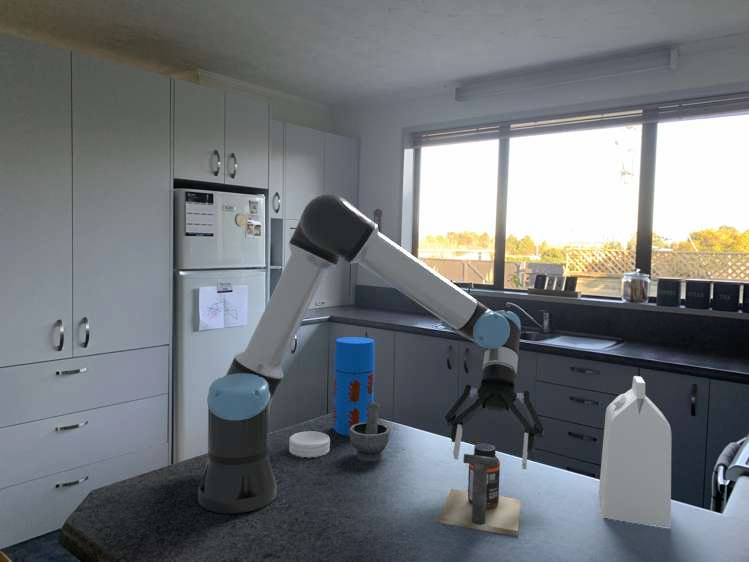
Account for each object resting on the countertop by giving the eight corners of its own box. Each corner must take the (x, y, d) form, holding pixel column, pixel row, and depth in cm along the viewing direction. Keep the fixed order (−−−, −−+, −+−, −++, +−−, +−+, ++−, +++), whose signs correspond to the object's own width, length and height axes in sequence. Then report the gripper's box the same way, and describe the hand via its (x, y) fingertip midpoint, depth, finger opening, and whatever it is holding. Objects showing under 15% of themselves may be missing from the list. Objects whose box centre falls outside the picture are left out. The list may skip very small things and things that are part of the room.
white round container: (280, 451, 134) (280, 437, 134) (309, 441, 142) (309, 427, 142) (310, 462, 128) (310, 447, 128) (338, 450, 136) (338, 436, 136)
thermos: (380, 428, 152) (382, 339, 151) (358, 439, 143) (361, 345, 142) (348, 421, 158) (350, 335, 157) (325, 431, 149) (327, 340, 148)
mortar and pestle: (385, 466, 126) (386, 415, 125) (345, 462, 128) (346, 412, 127) (392, 449, 137) (393, 402, 136) (355, 445, 139) (356, 399, 138)
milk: (670, 529, 100) (678, 390, 99) (602, 518, 104) (609, 383, 103) (659, 501, 112) (666, 375, 110) (598, 492, 115) (605, 370, 114)
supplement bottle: (476, 493, 111) (479, 438, 110) (503, 502, 107) (506, 446, 106) (461, 503, 106) (464, 446, 106) (489, 513, 102) (492, 454, 102)
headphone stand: (439, 523, 100) (441, 453, 100) (450, 493, 113) (453, 430, 112) (517, 537, 96) (520, 464, 96) (521, 504, 109) (523, 439, 108)
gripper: (557, 386, 122) (554, 478, 109) (446, 375, 130) (430, 460, 117) (558, 367, 117) (555, 462, 103) (442, 357, 125) (425, 444, 111)
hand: (489, 461), depth 110 cm, fingers open, 13 cm apart
